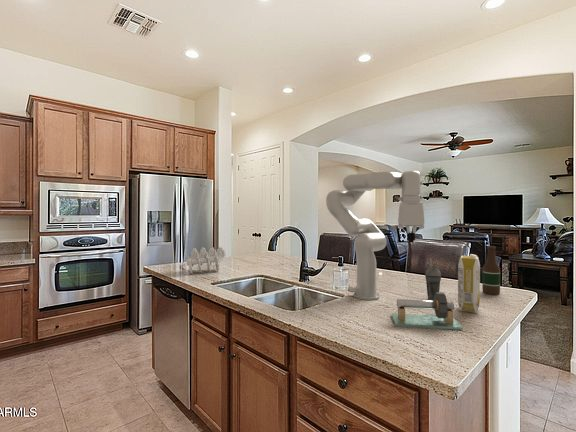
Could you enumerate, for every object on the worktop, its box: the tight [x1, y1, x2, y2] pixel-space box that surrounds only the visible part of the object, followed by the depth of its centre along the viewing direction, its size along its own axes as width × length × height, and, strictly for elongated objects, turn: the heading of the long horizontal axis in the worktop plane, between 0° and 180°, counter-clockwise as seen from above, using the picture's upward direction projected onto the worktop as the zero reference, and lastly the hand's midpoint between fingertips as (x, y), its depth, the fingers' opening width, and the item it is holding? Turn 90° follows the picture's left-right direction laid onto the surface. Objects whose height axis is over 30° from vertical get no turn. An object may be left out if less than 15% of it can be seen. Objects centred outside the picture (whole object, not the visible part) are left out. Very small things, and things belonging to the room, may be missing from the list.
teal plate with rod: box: [390, 298, 464, 331], centre depth 123 cm, size 23×12×9 cm, turn 79°
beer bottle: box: [482, 245, 501, 296], centre depth 164 cm, size 8×8×24 cm
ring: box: [434, 291, 448, 318], centre depth 122 cm, size 2×9×9 cm, turn 169°
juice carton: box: [457, 253, 481, 314], centre depth 137 cm, size 9×8×24 cm
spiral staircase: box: [185, 246, 226, 274], centre depth 223 cm, size 18×18×25 cm
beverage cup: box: [424, 257, 443, 301], centre depth 153 cm, size 7×7×20 cm
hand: (410, 242), depth 139 cm, fingers closed
